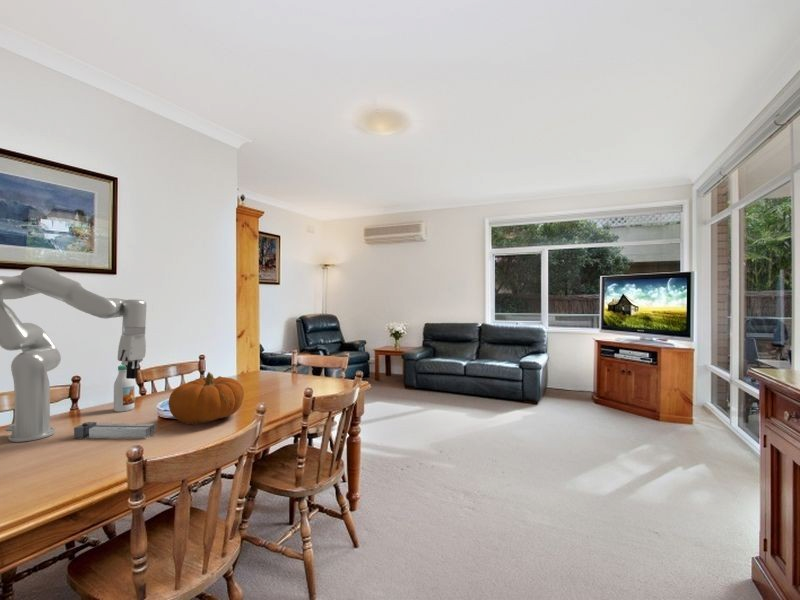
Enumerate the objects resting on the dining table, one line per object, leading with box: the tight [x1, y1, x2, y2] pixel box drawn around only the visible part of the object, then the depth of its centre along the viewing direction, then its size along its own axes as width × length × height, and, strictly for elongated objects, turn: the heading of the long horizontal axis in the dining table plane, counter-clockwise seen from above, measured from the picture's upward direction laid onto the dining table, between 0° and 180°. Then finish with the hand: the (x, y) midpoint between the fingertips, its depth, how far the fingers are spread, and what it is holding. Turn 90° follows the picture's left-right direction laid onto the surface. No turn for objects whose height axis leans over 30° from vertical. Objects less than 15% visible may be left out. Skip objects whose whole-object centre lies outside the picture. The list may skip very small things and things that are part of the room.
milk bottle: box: [113, 364, 135, 413], centre depth 180 cm, size 8×8×20 cm
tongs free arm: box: [95, 422, 156, 436], centre depth 148 cm, size 20×2×4 cm, turn 89°
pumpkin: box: [168, 371, 245, 425], centre depth 167 cm, size 28×28×20 cm
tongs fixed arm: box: [73, 421, 151, 439], centre depth 147 cm, size 26×6×5 cm, turn 90°
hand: (131, 378), depth 155 cm, fingers closed
